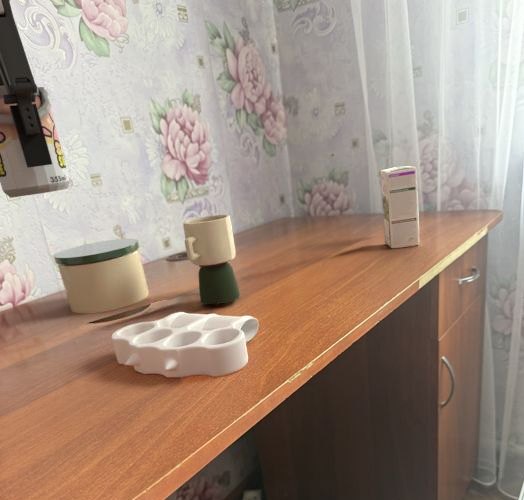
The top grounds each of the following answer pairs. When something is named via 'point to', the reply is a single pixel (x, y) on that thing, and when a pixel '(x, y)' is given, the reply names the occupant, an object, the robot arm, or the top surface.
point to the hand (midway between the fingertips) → (32, 167)
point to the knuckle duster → (186, 344)
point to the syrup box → (400, 206)
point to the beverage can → (12, 158)
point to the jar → (103, 277)
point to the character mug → (212, 257)
